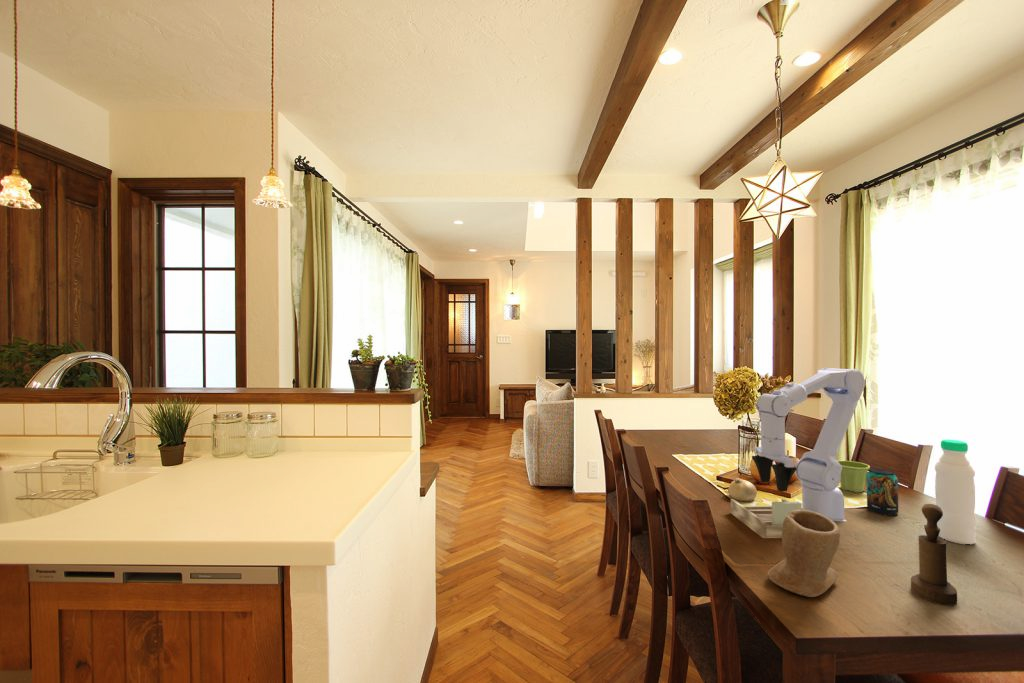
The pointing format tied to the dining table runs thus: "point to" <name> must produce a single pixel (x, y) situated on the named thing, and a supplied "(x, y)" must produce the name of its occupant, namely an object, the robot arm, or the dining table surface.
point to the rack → (756, 519)
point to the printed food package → (882, 491)
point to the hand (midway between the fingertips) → (773, 486)
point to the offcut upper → (765, 517)
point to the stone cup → (807, 553)
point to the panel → (783, 511)
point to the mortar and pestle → (933, 562)
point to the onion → (742, 490)
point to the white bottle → (955, 493)
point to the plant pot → (853, 475)
